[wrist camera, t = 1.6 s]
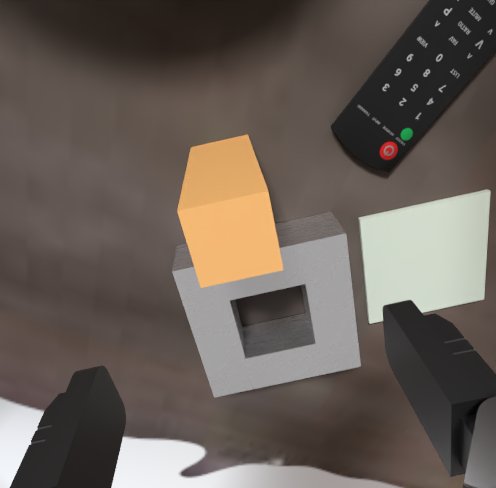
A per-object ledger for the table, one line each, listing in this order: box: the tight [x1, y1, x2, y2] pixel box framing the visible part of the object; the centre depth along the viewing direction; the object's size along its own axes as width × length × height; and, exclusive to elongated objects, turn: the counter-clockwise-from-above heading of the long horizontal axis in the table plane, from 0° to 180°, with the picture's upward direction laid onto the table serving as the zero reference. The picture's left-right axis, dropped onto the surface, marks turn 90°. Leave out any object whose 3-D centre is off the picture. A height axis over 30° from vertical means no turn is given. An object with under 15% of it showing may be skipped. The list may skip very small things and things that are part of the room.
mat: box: [358, 189, 490, 324], centre depth 34 cm, size 10×10×1 cm
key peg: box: [177, 135, 284, 288], centre depth 24 cm, size 4×4×12 cm
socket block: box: [172, 212, 361, 397], centre depth 33 cm, size 12×12×4 cm
